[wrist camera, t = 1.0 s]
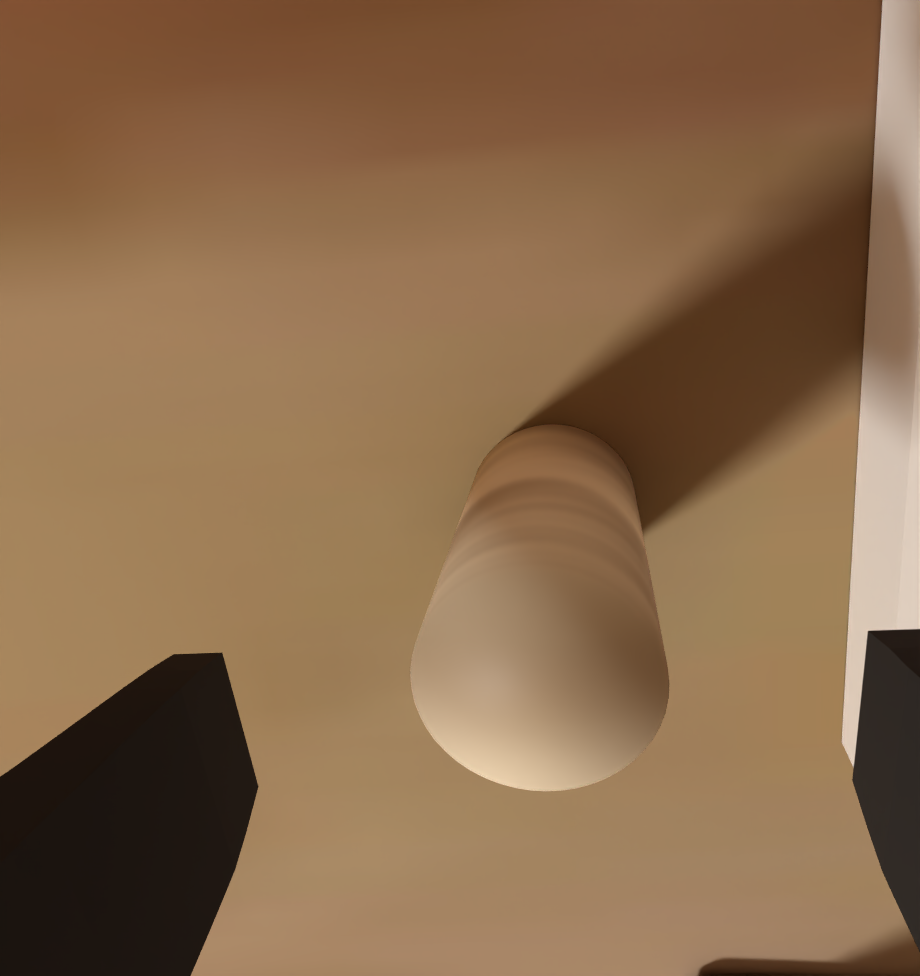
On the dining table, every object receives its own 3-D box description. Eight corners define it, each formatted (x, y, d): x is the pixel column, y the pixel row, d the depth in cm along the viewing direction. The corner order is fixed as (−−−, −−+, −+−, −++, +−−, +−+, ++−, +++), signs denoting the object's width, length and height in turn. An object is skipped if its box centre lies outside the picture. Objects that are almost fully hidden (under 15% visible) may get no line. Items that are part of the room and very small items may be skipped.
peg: (637, 573, 21) (671, 792, 13) (479, 579, 21) (426, 790, 14) (632, 419, 19) (666, 563, 12) (463, 430, 20) (394, 573, 12)
